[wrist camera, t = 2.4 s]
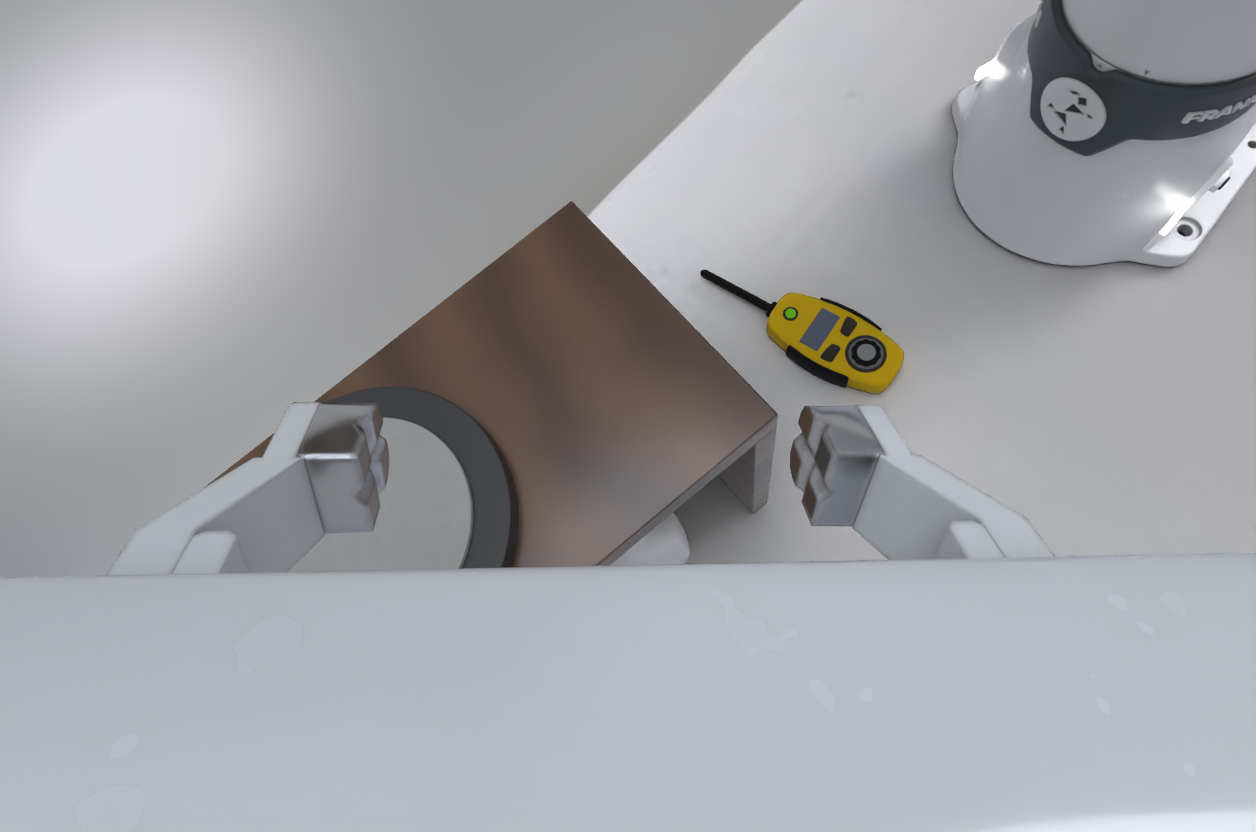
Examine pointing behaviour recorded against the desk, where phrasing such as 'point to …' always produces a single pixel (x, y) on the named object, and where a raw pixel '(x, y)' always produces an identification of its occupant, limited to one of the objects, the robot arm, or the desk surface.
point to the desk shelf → (582, 393)
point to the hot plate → (429, 493)
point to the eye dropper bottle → (659, 546)
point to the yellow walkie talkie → (827, 339)
